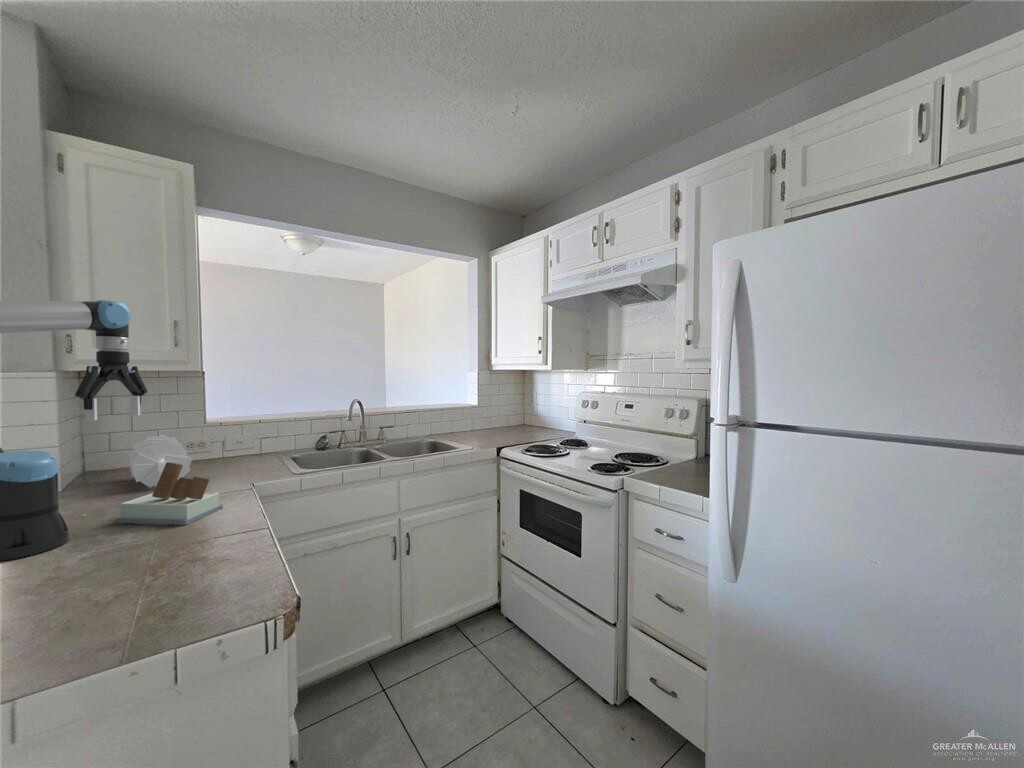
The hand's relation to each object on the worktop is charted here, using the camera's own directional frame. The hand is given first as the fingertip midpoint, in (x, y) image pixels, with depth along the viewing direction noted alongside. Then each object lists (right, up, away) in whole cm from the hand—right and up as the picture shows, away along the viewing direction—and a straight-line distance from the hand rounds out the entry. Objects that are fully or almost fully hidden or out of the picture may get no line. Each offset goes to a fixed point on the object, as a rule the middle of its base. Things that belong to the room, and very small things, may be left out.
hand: (114, 417), depth 131 cm
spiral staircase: (-11, -28, +30) cm, 42 cm away
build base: (+23, -29, -6) cm, 38 cm away
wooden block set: (+25, -24, -6) cm, 35 cm away
